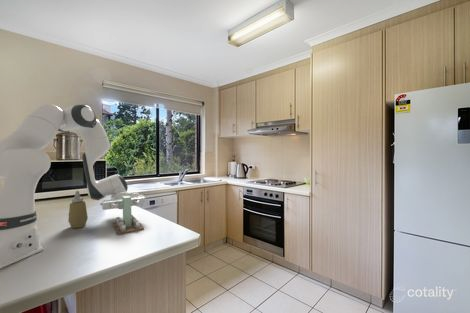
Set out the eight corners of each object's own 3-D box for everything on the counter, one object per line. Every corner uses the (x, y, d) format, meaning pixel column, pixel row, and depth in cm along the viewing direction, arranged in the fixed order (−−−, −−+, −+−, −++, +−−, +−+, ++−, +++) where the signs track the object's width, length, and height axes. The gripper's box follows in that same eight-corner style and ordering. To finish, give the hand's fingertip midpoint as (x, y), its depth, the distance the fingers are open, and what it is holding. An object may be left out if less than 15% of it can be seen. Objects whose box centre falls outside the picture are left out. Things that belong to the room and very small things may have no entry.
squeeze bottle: (64, 228, 109) (63, 192, 108) (80, 223, 116) (79, 189, 116) (75, 229, 106) (74, 192, 105) (91, 224, 113) (90, 189, 113)
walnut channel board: (143, 229, 104) (143, 222, 104) (118, 235, 98) (117, 227, 98) (135, 220, 119) (135, 214, 119) (112, 224, 112) (112, 217, 112)
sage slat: (131, 225, 107) (130, 197, 107) (125, 227, 106) (124, 198, 105) (129, 223, 111) (128, 195, 111) (123, 224, 110) (122, 196, 109)
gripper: (99, 197, 112) (102, 202, 101) (141, 192, 125) (148, 196, 113) (100, 209, 113) (102, 215, 101) (142, 203, 125) (148, 208, 114)
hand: (127, 205), depth 108 cm, fingers open, 8 cm apart
